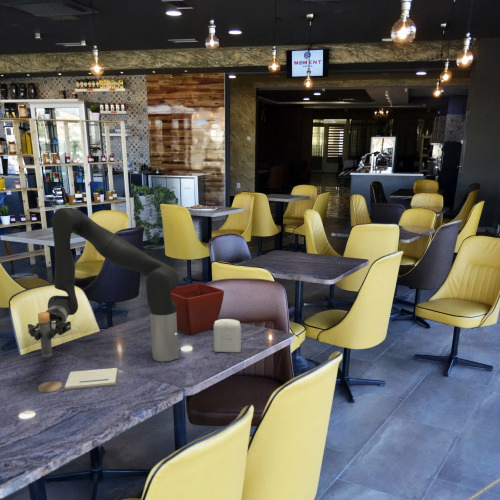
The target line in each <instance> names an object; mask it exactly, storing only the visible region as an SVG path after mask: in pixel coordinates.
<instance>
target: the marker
mask: <svg viewBox="0 0 500 500" xmlns="http://www.w3.org/2000/svg"><path fill="white" fill-rule="evenodd" d="M37 320H38V322H37V323H39V329H40V339H39V340H40V348H41V355H42V356H41V357H43V358H48V357H51V356H53V348H52V347H53V346H52V339H51V340H48V332H49V331H50V318H49V313H48V312H46V311H44V312H40V313H38V314H37Z"/></svg>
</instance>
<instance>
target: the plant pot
mask: <svg viewBox="0 0 500 500" xmlns="http://www.w3.org/2000/svg"><path fill="white" fill-rule="evenodd" d="M224 295H225V290H223V289H221V288H217V287H215V286H211V285H208V284H205V283H201V282H195V283H190V284H186V285H180V286H176V287H175V288H174V289H172V290H171V299H172V301H173V302H175V303H176V312H177V330H179V331H181V332H183V333H185V334H187V335H194V334H199V333H203V332H206V331H209V330H214V324H215V321H217V320H219V316H220V313H221V309H222V306H223V301H224Z"/></svg>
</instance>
